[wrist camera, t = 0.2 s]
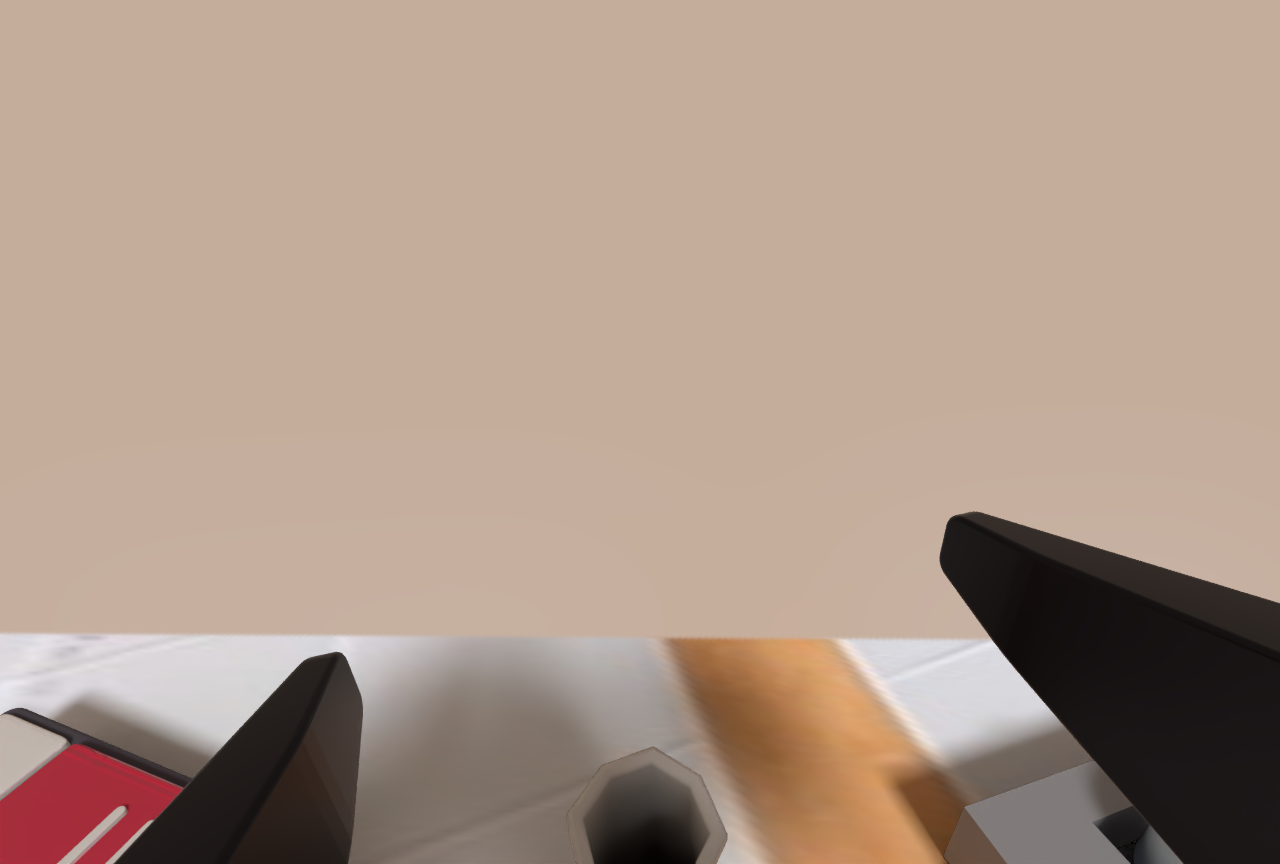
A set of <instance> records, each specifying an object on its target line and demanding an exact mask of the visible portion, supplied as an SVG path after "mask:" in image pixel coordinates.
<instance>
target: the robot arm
mask: <svg viewBox="0 0 1280 864" xmlns="http://www.w3.org/2000/svg"><path fill="white" fill-rule="evenodd" d="M940 565H941V568H942V570H943V572H944V574H945V575H946V576H947V578H948V579H949V581H950V582H951V583H952V585H953V586H954V587H955V589H956V590H957V592H958V593H959V595H960V596H961V597H962V599H963V600H964V601H965V603H966V604H967V606H968V607H969V608H970V610H971V611H972V613H973V614H974V615H975V617H976V618H977V619H978V621H979V622H980V623H981V625H982V626H983V628H984V629H985V630H986V632H987V633H988V635H989V636H990V637H991V639H992V640H993V642H994V643H995V644H996V646H997V647H998V648H999V649H1000V651H1001V652H1002V653H1003V655H1004V656H1005V657H1006V658H1007V660H1008V661H1009V662H1010V663H1011V664H1012V666H1013V667H1014V668H1015V669H1016V670H1017V672H1018V673H1019V674H1020V675H1021V676H1022V677H1023V679H1024V680H1025V681H1026V682H1027V683H1028V684H1029V686H1030V687H1031V688H1032V689H1033V690H1034V691H1035V693H1036V694H1037V695H1038V696H1039V697H1040V698H1041V699H1042V701H1043V702H1044V703H1045V704H1046V705H1047V706H1048V708H1049V709H1050V710H1051V711H1052V712H1053V713H1054V715H1055V716H1056V717H1057V718H1058V719H1059V720H1060V722H1061V723H1062V724H1063V725H1064V726H1065V727H1066V729H1067V730H1068V731H1069V732H1070V733H1071V734H1072V735H1073V737H1074V738H1075V739H1076V740H1077V741H1078V742H1079V744H1080V745H1081V746H1082V747H1083V748H1084V749H1085V751H1086V752H1087V753H1088V754H1089V755H1090V756H1091V758H1092V759H1093V760H1094V761H1095V762H1096V763H1097V764H1098V766H1099V767H1100V768H1101V769H1102V770H1103V771H1104V773H1105V774H1106V775H1107V776H1108V777H1109V778H1110V780H1111V781H1112V782H1113V783H1114V784H1115V785H1116V787H1117V788H1118V789H1119V790H1120V791H1121V792H1122V794H1123V795H1124V796H1125V797H1126V798H1127V799H1128V800H1129V802H1130V803H1131V804H1132V805H1133V806H1134V807H1135V809H1136V810H1137V811H1138V812H1139V813H1140V814H1141V816H1142V817H1143V818H1144V819H1145V820H1146V821H1147V823H1148V824H1149V825H1150V826H1151V827H1152V828H1153V829H1154V831H1155V832H1156V833H1157V834H1158V835H1159V836H1160V838H1161V839H1162V840H1163V841H1164V842H1165V843H1166V845H1167V846H1168V847H1169V848H1170V849H1171V850H1172V852H1173V853H1174V854H1175V855H1176V856H1177V857H1178V858H1179V860H1180V861H1181V862H1182V863H1183V864H1280V603H1277V602H1274V601H1271V600H1267V599H1264V598H1261V597H1257V596H1254V595H1251V594H1248V593H1244V592H1240V591H1238V590H1234V589H1231V588H1228V587H1224V586H1221V585H1218V584H1215V583H1211V582H1208V581H1205V580H1201V579H1198V578H1195V577H1192V576H1188V575H1185V574H1182V573H1178V572H1175V571H1172V570H1168V569H1165V568H1162V567H1158V566H1155V565H1152V564H1149V563H1145V562H1142V561H1139V560H1136V559H1132V558H1129V557H1126V556H1122V555H1119V554H1116V553H1113V552H1109V551H1106V550H1103V549H1099V548H1096V547H1093V546H1090V545H1086V544H1083V543H1080V542H1076V541H1073V540H1070V539H1066V538H1063V537H1060V536H1057V535H1053V534H1050V533H1046V532H1043V531H1040V530H1037V529H1033V528H1030V527H1027V526H1024V525H1020V524H1017V523H1014V522H1010V521H1007V520H1004V519H1001V518H997V517H994V516H990V515H987V514H984V513H981V512H968V513H964V514H959V515H955V516H953V517H951V518H950V519H949V521H948V522H947V525H946V530H945V534H944V539H943V543H942V547H941V552H940ZM362 719H363V704H362V698H361V694H360V691H359V689H358V686H357V684H356V681H355V679H354V676H353V674H352V671H351V669H350V666H349V664H348V661H347V659H346V657H345V656H344V655H343V654H342V653H340V652H333V653H328V654H324V655H319V656H315V657H311V658H308V659H306V660H304V661H303V662H302V663H301V664H300V665H299V666H298V667H297V668H296V669H295V670H294V671H293V672H292V673H291V674H290V675H289V676H288V678H287V679H286V680H285V681H284V682H283V683H282V684H281V685H280V686H279V687H278V688H277V689H276V690H275V691H274V692H273V694H272V695H271V696H270V697H269V698H268V699H267V700H266V701H265V702H264V703H263V704H262V705H261V706H260V707H259V708H258V710H257V711H256V712H255V713H254V714H253V715H252V716H251V717H250V718H249V719H248V720H247V721H246V722H245V723H244V725H243V726H242V727H241V728H240V729H239V730H238V731H237V732H236V733H235V734H234V735H233V736H232V737H231V738H230V739H229V741H228V742H227V743H226V744H225V745H224V746H223V747H222V748H221V749H220V750H219V751H218V752H217V753H216V754H215V755H214V757H213V758H212V759H211V760H210V761H209V762H208V763H207V764H206V765H205V766H204V767H203V768H202V769H201V770H200V771H199V773H198V774H197V775H196V776H195V777H194V778H193V779H192V780H191V781H190V782H189V783H188V784H187V785H186V786H185V787H184V789H183V790H182V791H181V792H180V793H179V794H178V795H177V796H176V797H175V798H174V799H173V800H172V801H171V802H170V803H169V805H168V806H167V807H166V808H165V809H164V810H163V811H162V812H161V813H160V814H159V815H158V816H157V817H156V818H155V820H154V821H153V822H152V823H151V824H150V825H149V826H148V827H147V828H146V829H145V830H144V831H143V832H142V833H141V834H140V836H139V837H138V838H137V839H136V840H135V841H134V842H133V843H132V844H131V845H130V846H129V847H128V848H127V849H126V850H125V852H124V853H123V854H122V855H121V856H120V857H119V858H118V859H117V860H116V861H115V862H114V863H113V864H348V861H349V855H350V849H351V843H352V835H353V825H354V815H355V803H356V791H357V779H358V767H359V755H360V743H361V731H362Z"/></svg>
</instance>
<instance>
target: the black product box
mask: <svg viewBox="0 0 1280 864" xmlns="http://www.w3.org/2000/svg"><path fill="white" fill-rule="evenodd" d="M191 780H192V779H191V778H189V777H187V776H184V775H182V774H180V773H177V772H175V771H172V770H170V769H168V768H165V767H163V766H160V765H158V764H156V763H153V762H151V761H149V760H146V759H144V758H141V757H139V756H137V755H134V754H132V753H129V752H127V751H125V750H122V749H120V748H118V747H115V746H113V745H110V744H108V743H106V742H103V741H101V740H99V739H96V738H94V737H91V736H89V735H87V734H84V733H82V732H79V731H77V730H75V729H72V728H70V727H68V726H65V725H63V724H60V723H58V722H56V721H53V720H51V719H48V718H46V717H44V716H41V715H39V714H37V713H34V712H32V711H29V710H27V709H24V708H15V709H11V710H9V711H7V712H5V713H3V714H2V715H0V864H113V863H114V862H115V861H116V860H117V859H118V858H119V857H120V856H121V855H122V854H123V853H124V852H125V850H126V849H127V848H128V847H129V846H130V845H131V844H132V843H133V842H134V841H135V840H136V839H137V838H138V837H139V836H140V834H141V833H142V832H143V831H144V830H145V829H146V828H147V827H148V826H149V825H150V824H151V823H152V822H153V821H154V820H155V818H156V817H157V816H158V815H159V814H160V813H161V812H162V811H163V810H164V809H165V808H166V807H167V806H168V805H169V803H170V802H171V801H172V800H173V799H174V798H175V797H176V796H177V795H178V794H179V793H180V792H181V791H182V790H183V789H184V787H185V786H186V785H187V784H188V783H189V782H190V781H191Z"/></svg>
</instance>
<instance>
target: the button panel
mask: <svg viewBox="0 0 1280 864" xmlns="http://www.w3.org/2000/svg"><path fill="white" fill-rule="evenodd" d="M1148 826H1149V824H1148V823H1147V821H1146V820H1145V819H1144V818H1143V817H1142V816H1141V814H1140V813H1139V812H1138V811H1137V810H1136V809H1135V807H1134V806H1133V805H1132V804H1131V803H1130V802H1129V800H1128V799H1127V798H1126V797H1125V796H1124V795H1123V794H1122V792H1121V791H1120V790H1119V789H1118V788H1117V787H1116V785H1115V784H1114V783H1113V782H1112V781H1111V780H1110V778H1109V777H1108V776H1107V775H1106V774H1105V773H1104V771H1103V770H1102V769H1101V768H1100V767H1099V766H1098V764H1097V763H1096V762H1095V761H1094V760H1093V761H1090V762H1087V763H1084V764H1082V765H1079V766H1076V767H1073V768H1070V769H1068V770H1065V771H1062V772H1059V773H1057V774H1054V775H1051V776H1048V777H1046V778H1043V779H1040V780H1037V781H1034V782H1032V783H1029V784H1026V785H1023V786H1021V787H1018V788H1015V789H1012V790H1010V791H1007V792H1004V793H1001V794H998V795H996V796H993V797H990V798H987V799H985V800H982V801H979V802H976V803H974V804H971V805H968V806H965V807H964V808H963V811H962V813H961V815H960V818H959V820H958V823H957V825H956V827H955V830H954V832H953V834H952V837H951V839H950V841H949V844H948V846H947V848H946V851H945V853H944V855H943V856H944V858H945V859H946V861H947V862H948V864H1130V863H1129V862H1128V860H1127V859H1126V858H1125V857H1124V856H1123V855H1122V854H1121V853H1120V852H1119V851H1118V850H1117V849H1116V848H1118V847H1121V846H1123V845H1125V844H1128V843H1130V842H1133V841H1135V840H1138V839H1140V837H1141V836H1142V834H1143V833H1144V832H1145V830H1146V829H1147V827H1148Z"/></svg>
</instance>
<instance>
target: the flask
mask: <svg viewBox="0 0 1280 864" xmlns="http://www.w3.org/2000/svg"><path fill="white" fill-rule="evenodd" d="M566 820H567V825H568V830H569V834H570V839H571V843H572V848H573V852H574V857H575V861H576V864H716V863H717V861H718V859H719V857H720V855H721V853H722V851H723V848H724V846H725V844H726V842H727V832H726V830H725V828H724V826H723V823H722V821H721V819H720V817H719V815H718V812H717V810H716V808H715V806H714V803H713V801H712V799H711V797H710V795H709V792H708V790H707V788H706V786H705V784H704V781H703V779H702V777H701V775H699V774H697V773H696V772H694V771H692V770H691V769H689V768H688V767H686V766H684V765H683V764H681V763H679V762H678V761H676V760H675V759H673V758H671V757H670V756H668V755H666V754H665V753H663V752H661V751H660V750H658V749H657V748H655V747H651V748H648V749H645V750H642V751H640V752H637V753H634V754H631V755H629V756H626V757H623V758H620V759H618V760H615V761H612V762H609V763H607V764H604V765H602V766H601V767H600V769H599V770H598V771H597V773H596V774H595V776H594V777H593V778H592V780H591V781H590V783H589V784H588V785H587V787H586V788H585V790H584V791H583V792H582V794H581V795H580V797H579V798H578V799H577V801H576V802H575V804H574V805H573V806H572V808H571V809H570V810H569V812H568V813H567V815H566Z"/></svg>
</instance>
